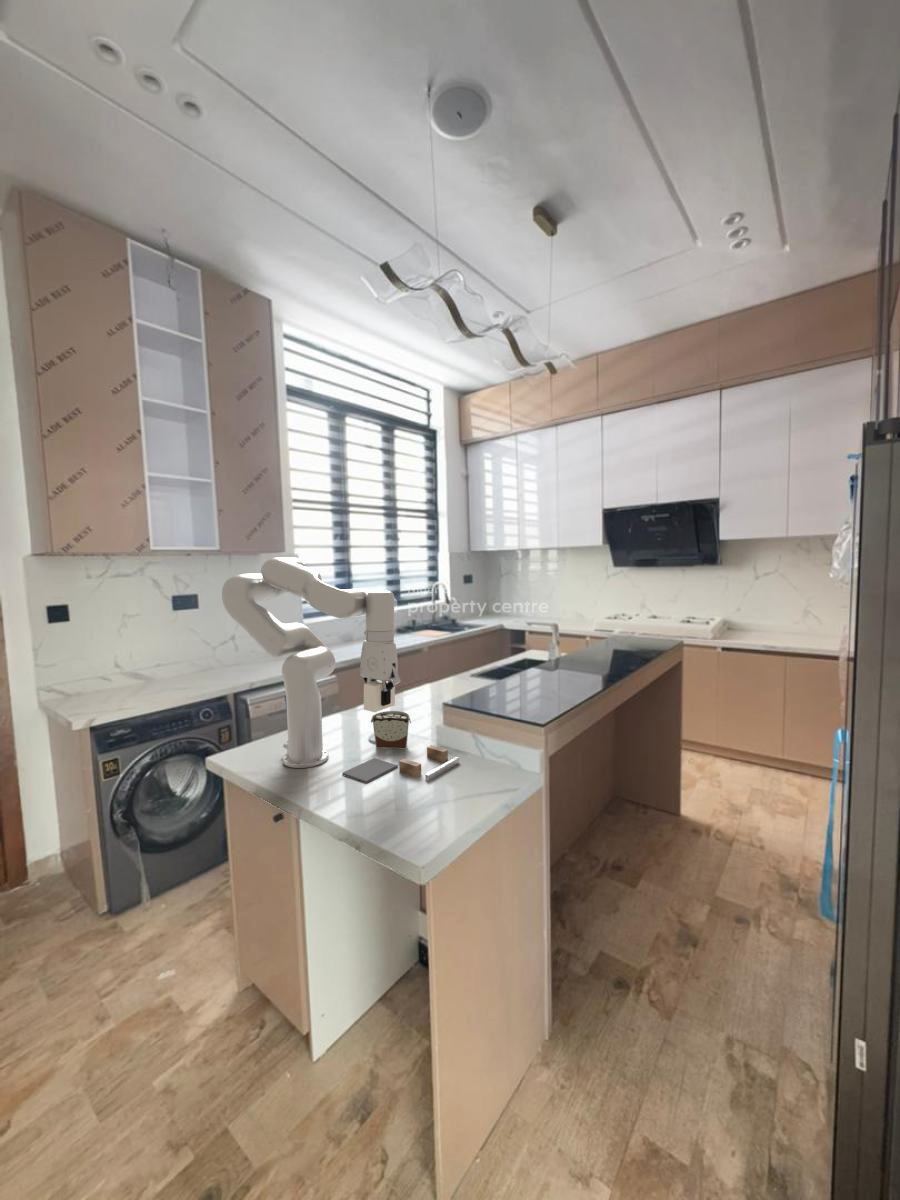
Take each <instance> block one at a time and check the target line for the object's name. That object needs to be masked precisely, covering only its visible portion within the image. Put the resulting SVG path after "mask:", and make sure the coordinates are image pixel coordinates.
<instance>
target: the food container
mask: <svg viewBox="0 0 900 1200" xmlns="http://www.w3.org/2000/svg"><path fill="white" fill-rule="evenodd" d="M370 723H372V726H373V733H374V741H375V742H374V743H375V748H376V749H390V748H391V749H392V748H406V747H407V748H408V736H409V735H408V734H409V725H410V724H411V723H412V721H411V718H410V715H409V714H408V713H407V712H404V711H398V710H389V711H388V710H387V711H381V712H380V711H379V712H378V713H377V712H376V713H375V714H373V715H372V716H371V721H370ZM407 748H406V749H407ZM392 750H393V749H392Z"/></svg>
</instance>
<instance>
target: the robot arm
mask: <svg viewBox="0 0 900 1200" xmlns="http://www.w3.org/2000/svg"><path fill="white" fill-rule="evenodd" d="M221 589H222V590H221V600H222V604H223V606H224V609H225V610H226V612H227V613H228V615H229V616H230V617H231V619H233V620H234V621H235V622H236V623H237V624H238V625H239V626H240V627H241V628H242V629H243V630H245V631H246V632H247V633H248V634H249V636H250V637H251V638H252V639H253V640H254V641H255V642H256V643H257V644H258V645H259V647H260V648H261V649H263V651H264V652H265V653H266V654H267V655H268V656H269V657H271V658H274V659H281V658H282V659H283V658H286V659H285V660H284V661H283V663H282V666H281V676H282V680H283V686H284V689H285V701H286V717H287V719H286V720H287V723H286V724H287V741H286V742H285V743H283V745H282V747H283V748H284V749H285V750H286V751H287V753H286V754H285V755H284V757H282V761H283V762H282V763H283V765H284V766H286V767H288V768H293V769H304V768H312V767H316V766H319V765H321V764H323V763H325V762H326V761H328V759H329V752H328V751H327V749H324V744H323V743H324V742H323V720H322V719H323V716H322V715H323V714H322V696H321V693H320V689H319V687H318V685H317V681H318V680H321V679H325V678H326V677H328V676H329V675H331V674H332V673H333V672H334V670H335V667H336V658H335V656H334V653H333V652H332V650H331V649H330V648H329V647H328V646H327V645H326V644H325V643H324V642H323V641H322V640H321V639H320V638H319V636H317V634H315V633H314V631H312V630H311V628H309V627H308V626H307V625H305V624H303V623H300V622H288V623H283V622H281V621H280V620H279V619H277V617H275V616H274V614H272V612H271V611H270V610H268V609H267V608H265V607H263V606H262V605H260V604H258V603H257V602H263V601H265V602H266V601H270V600H273V599H276V598H278V597H280V596H281V595H283V594H285V593H289V594H290V595H291V594H292V595H293V596H296V597H298V598H301V599H303V600H304V601H305V602H306V603H307V604H308V605H309V606H310V607H312V609H315V610H317V611H319V612H321V613H324V614H326V615H328V616H331V617H334V618H337V619H345V620H346V619H350V618H353V617H360V616H361V617H362V616H365V630H364V632H363V633H364V635H365V640H363V643H362V646H361V647H362V648H361V654H360V662H359V663H360V666H359V667H360V669H359V670H360V671H359V675H360V677H361V678H362V679H363V680H364V682H365V683H369V682H372V681H376V680H380V681H382V687H383V691H381V705H382V706H385V705H388V704H390V703H391V690H392V689H393V687H394V686H395V687H396V685H397V684H399V683H401V678H400V675H399V672H398V671H399V667H398V666H399V665H398V664H399V661H398V660H399V659H398V652H397V650H398V649H397V645H396V642H395V639H394V638H395V594H394V593H393V592H392V591H390V590H379V589H377V590H373V589H371V590H370V589H366V588H349V589H340V588H337V587H335V586H331V585H330V584H327V583H325V582H323V581H322V575H321V573H320V572H318V571H317V570H314V569H312V568H310V567H307V565H306V563H305V562H304V561H303V560H301V559H300V558H297V557H293V556H285V557H284V556H276V557H271V558H268V559H266V561H264V562H263V564H262V566H261V568H260V572H256V573H255V572H253V573H252V572H251V573H240V574H236V575H232V576H230V577H229V578H228V579H226V580H225V581H224V583H223V585H222V588H221ZM386 681H388V684H387V682H386Z"/></svg>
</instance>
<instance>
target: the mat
mask: <svg viewBox="0 0 900 1200" xmlns="http://www.w3.org/2000/svg"><path fill="white" fill-rule="evenodd" d="M398 765H399V764H395V763H392V762H388V761H386V760H383V759H378V758H375V757H373V758H371V759H369V760H367V761H365V762H363V763H361V764H358V765H356V766H354V767H351V768H350V769H347V770H346V771H343V772H342V776H344V775H345V777H347V776H348V778H350V779H353V780H356V779H357V780H356V781H358V780H360V781H359V782H361V781H362V783H364V782H365V784H368V783H370V782H372V781H373V779H374V780H376V779H377V778H380V777H382V776H384V775H385V774H387V773H389V772H392V771H393V770H395V769H397V768H398ZM379 776H380V777H379ZM375 778H376V779H375ZM371 780H372V781H371ZM369 781H370V782H369ZM367 782H368V783H367Z"/></svg>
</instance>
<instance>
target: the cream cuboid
mask: <svg viewBox="0 0 900 1200" xmlns="http://www.w3.org/2000/svg"><path fill="white" fill-rule="evenodd" d="M386 682H387V684H388V681H386ZM381 691H383V687H382V681H380V680H376V681H372V682H369V683H366V682H365V683H363V710H364V711H367V712H372V713H377V712H380V711H383V710H385V709H389V708H391V707H394V706H395V705H396V700H395V699H396V685H395V686H394V687H393V689H392V690H391V703H390V704H388V705H385V706H382V705H381Z"/></svg>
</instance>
